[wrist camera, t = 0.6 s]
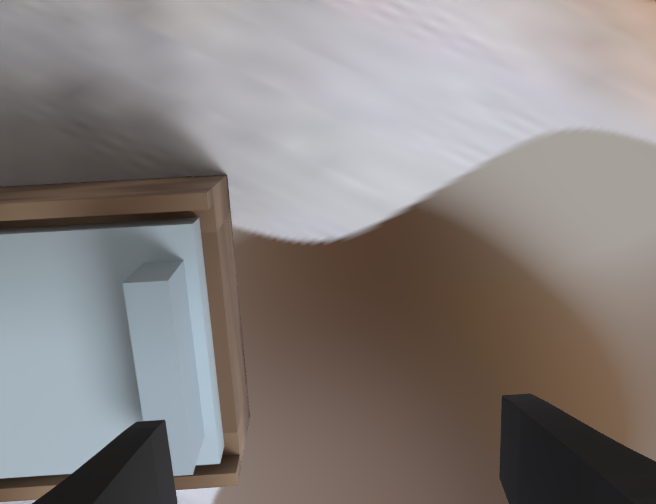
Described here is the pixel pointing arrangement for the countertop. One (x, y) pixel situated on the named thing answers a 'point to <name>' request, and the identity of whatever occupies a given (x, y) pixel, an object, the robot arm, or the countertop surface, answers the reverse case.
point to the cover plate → (104, 343)
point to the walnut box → (220, 269)
